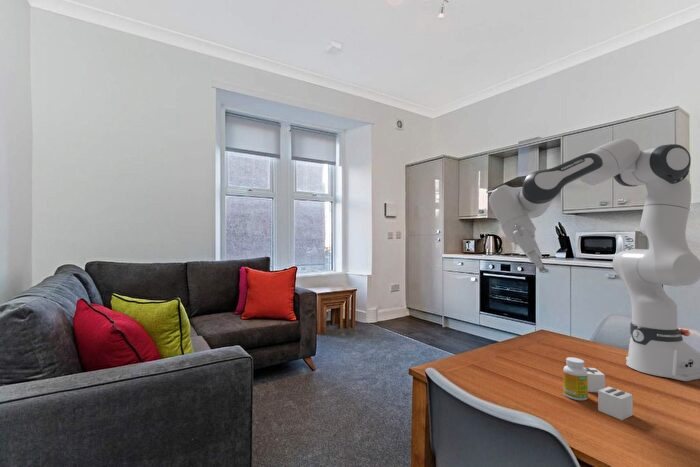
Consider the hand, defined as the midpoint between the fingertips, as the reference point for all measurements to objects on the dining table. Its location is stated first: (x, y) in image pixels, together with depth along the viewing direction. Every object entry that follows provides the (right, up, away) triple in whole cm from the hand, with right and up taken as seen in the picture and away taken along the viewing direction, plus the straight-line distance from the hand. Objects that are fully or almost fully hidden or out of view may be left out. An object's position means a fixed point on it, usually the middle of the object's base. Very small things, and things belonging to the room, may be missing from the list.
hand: (541, 269), depth 103 cm
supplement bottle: (+3, -33, -11) cm, 35 cm away
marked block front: (+7, -33, -20) cm, 39 cm away
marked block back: (+10, -33, -7) cm, 35 cm away
